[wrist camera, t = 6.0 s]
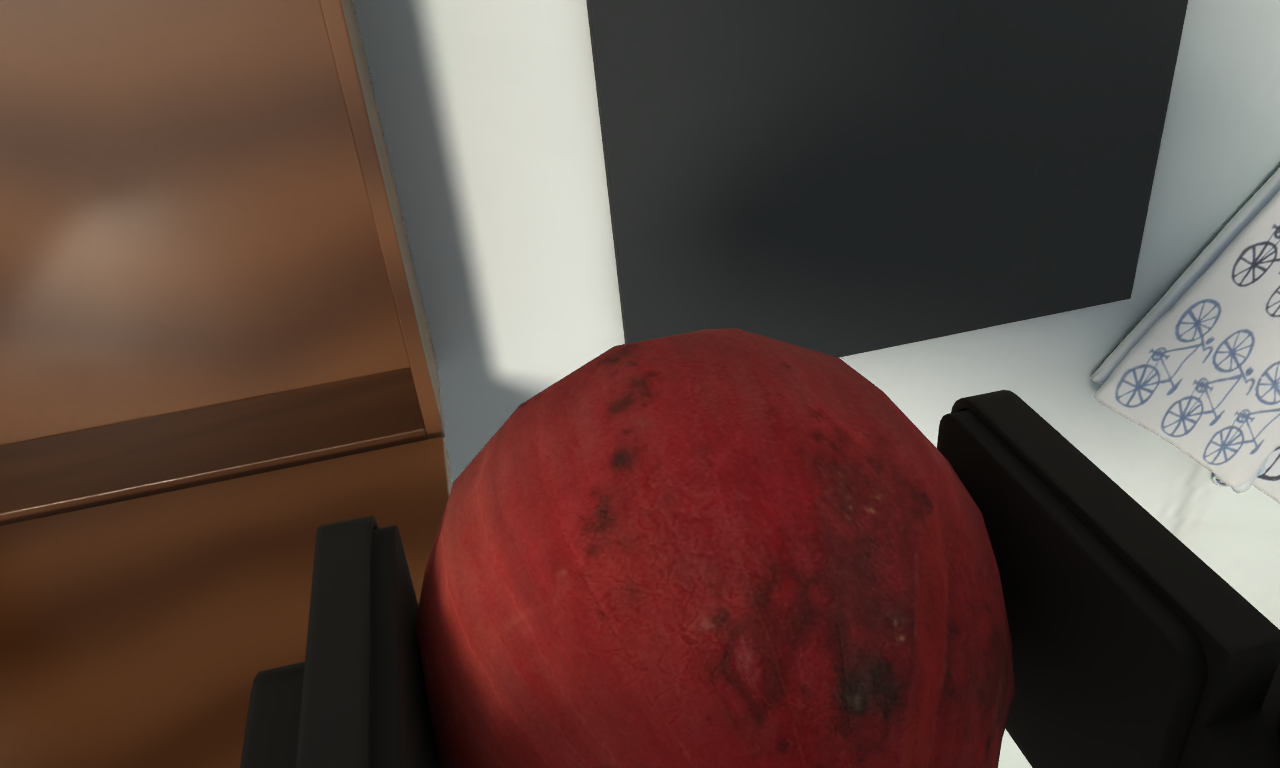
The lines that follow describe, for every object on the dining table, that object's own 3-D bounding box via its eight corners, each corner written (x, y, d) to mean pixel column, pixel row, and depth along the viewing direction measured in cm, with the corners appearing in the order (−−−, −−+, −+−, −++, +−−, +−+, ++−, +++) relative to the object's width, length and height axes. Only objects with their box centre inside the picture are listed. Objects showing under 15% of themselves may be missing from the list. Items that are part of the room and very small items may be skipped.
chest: (-549, -252, 20) (-762, -271, 16) (277, -321, 23) (258, -351, 19) (-106, 471, 30) (-177, 564, 26) (437, 367, 33) (445, 438, 29)
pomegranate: (484, 166, 11) (656, 720, 4) (896, 289, 13) (1456, 789, 6) (362, 564, 13) (346, 1336, 6) (729, 614, 15) (1007, 1234, 9)
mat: (555, -270, 25) (558, -272, 24) (1240, -334, 28) (1254, -337, 27) (630, 392, 35) (633, 399, 34) (1122, 293, 38) (1131, 298, 37)
